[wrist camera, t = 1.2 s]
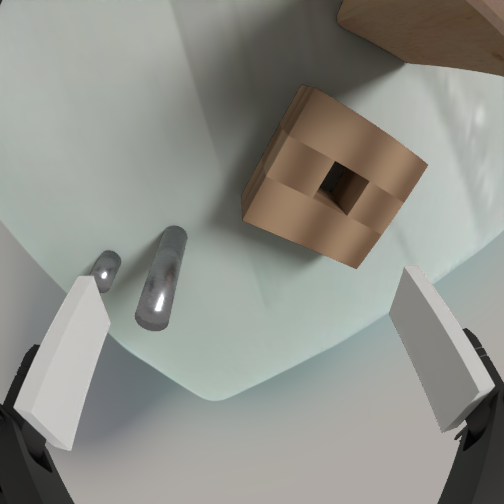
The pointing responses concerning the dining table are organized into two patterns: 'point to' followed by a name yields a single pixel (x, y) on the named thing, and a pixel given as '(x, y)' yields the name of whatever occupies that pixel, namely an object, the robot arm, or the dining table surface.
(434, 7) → the wooden block
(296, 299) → the dining table surface
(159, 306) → the long pin
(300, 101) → the socket block
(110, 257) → the short pin
